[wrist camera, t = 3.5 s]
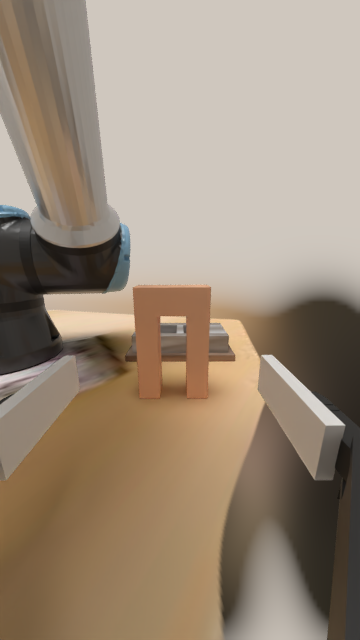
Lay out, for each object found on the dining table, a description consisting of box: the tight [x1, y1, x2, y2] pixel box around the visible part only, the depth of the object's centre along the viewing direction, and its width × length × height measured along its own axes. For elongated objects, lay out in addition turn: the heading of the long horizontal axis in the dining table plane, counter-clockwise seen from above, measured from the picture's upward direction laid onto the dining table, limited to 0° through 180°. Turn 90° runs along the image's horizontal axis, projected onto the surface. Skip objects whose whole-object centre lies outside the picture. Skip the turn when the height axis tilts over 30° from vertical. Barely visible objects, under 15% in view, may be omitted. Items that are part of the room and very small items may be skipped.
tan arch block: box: [133, 285, 211, 398], centre depth 24 cm, size 3×8×13 cm, turn 90°
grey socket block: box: [125, 323, 235, 361], centre depth 38 cm, size 10×18×4 cm, turn 90°
